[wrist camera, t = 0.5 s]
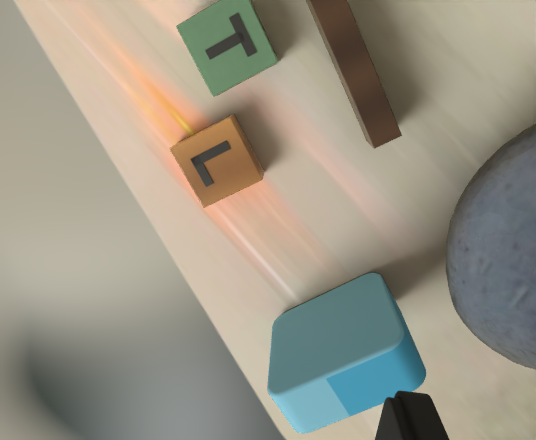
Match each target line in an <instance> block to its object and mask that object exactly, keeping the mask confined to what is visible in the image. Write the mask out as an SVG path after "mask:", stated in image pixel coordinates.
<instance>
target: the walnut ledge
mask: <svg viewBox="0 0 536 440" xmlns="http://www.w3.org/2000/svg"><path fill="white" fill-rule="evenodd" d="M306 2H307V4H308V6H309V8H310V11H311V13H312V15H313V18H314V20H315V22H316V25H317V27H318V29H319V32H320V34H321V36H322V38H323V41H324V43H325V45H326V48H327V50H328V52H329V55H330V57H331V59H332V62H333V64H334V66H335V68H336V71H337V73H338V75H339V78H340V80H341V82H342V85H343V87H344V89H345V91H346V94H347V96H348V98H349V101H350V103H351V105H352V108H353V110H354V112H355V115H356V117H357V119H358V121H359V124H360V126H361V128H362V131H363V133H364V135H365V138H366V140H367V142H368V143H369V144H370V145H371V146H372V147H373V148H376V147H379V146H381V145H383V144H385V143H387V142H389V141H391V140H393V139H396V138H398V137H400V136H402V135H401V132H400V130H399V127H398V125H397V122H396V120H395V117H394V115H393V112H392V110H391V108H390V105H389V103H388V100H387V98H386V95H385V93H384V90H383V88H382V85H381V83H380V81H379V78H378V76H377V73H376V71H375V68H374V66H373V63H372V61H371V58H370V56H369V54H368V51H367V49H366V46H365V44H364V41H363V39H362V36H361V34H360V31H359V29H358V27H357V24H356V22H355V19H354V17H353V14H352V12H351V9H350V7H349V4H348V2H347V0H306Z"/></svg>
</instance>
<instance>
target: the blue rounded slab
mask: <svg viewBox="0 0 536 440" xmlns="http://www.w3.org/2000/svg"><path fill="white" fill-rule="evenodd" d="M425 377H426V369H425V367H424V364H423V362H422V360H421V357H420V355H419V353H418V350H417V348H416V346H415V343H414V341H413V339H412V336H411V334H410V332H409V329H408V327H407V325H406V322H405V320H404V318H403V316H402V313H401V311H400V309H399V307H398V305H397V303H396V301H395V300H394V298H393V296H392V294H391V292H390V291H389V289H388V287H387V285H386V283H385V282H384V280H383V278H382V276H381V275H380V274H378V273H368V274H365V275H362V276H360V277H358V278H356V279H354V280H352V281H350V282H348V283H346V284H343V285H341V286H339V287H337V288H335V289H333V290H331V291H329V292H327V293H325V294H322V295H320V296H318V297H316V298H314V299H312V300H310V301H308V302H306V303H304V304H301V305H299V306H297V307H295V308H293V309H291V310H289V311H287V312H285V313H283V314H282V315H280V316H279V317H278V318H277V319H276V320H275V322H274V324H273V327H272V339H271V351H270V363H269V375H268V393H269V395H270V396H271V397H272V399H273V400H274V402H275V403H276V405H277V406H278V407H279V409H280V410H281V412H282V413H283V414H284V416H285V417H286V419H287V420H288V422H289V423H290V424H291V426H292V427H293V429H294V430H295V431H297V432H299V433H309V432H312V431H315V430H317V429H320V428H322V427H325V426H327V425H330V424H332V423H335V422H337V421H340V420H342V419H345V418H347V417H350V416H352V415H355V414H357V413H360V412H362V411H365V410H367V409H369V408H372V407H374V406H377V405H379V404H382V403H384V402H385V399H386V398H387V397H392V398H394V396H395V394H396V392H397V391H399V390H400V391H408V392H412V391H414V390H416V389H417V388H418V387H419V386H420V385H421V384H422V383H423V382H424V380H425Z"/></svg>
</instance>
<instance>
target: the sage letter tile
mask: <svg viewBox="0 0 536 440" xmlns="http://www.w3.org/2000/svg"><path fill="white" fill-rule="evenodd" d="M176 27H177V29H178V31H179V33H180V35H181V37H182V39H183V41H184V43H185V44H186V46H187V48H188V50H189V52H190V54H191V56H192V58H193V60H194V62H195V63H196V65H197V67H198V69H199V71H200V73H201V75H202V77H203V79H204V81H205V82H206V84H207V86H208V88H209V90H210V92H211V94H212V96H213V97H214V96H217V95H219V94H221V93H223V92H225V91H226V90H228V89H230V88H232V87H234V86H236V85H238V84H239V83H241V82H243V81H245V80H247V79H249V78H251V77H252V76H254V75H256V74H258V73H260V72H262V71H264V70H265V69H267V68H269V67H271V66H273V65H275V64H277V63H278V62H279V60H278V58H277V56H276V54H275V52H274V50H273V47H272V45H271V43H270V41H269V39H268V37H267V35H266V33H265V30H264V28H263V26H262V24H261V22H260V20H259V18H258V15H257V13H256V11H255V9H254V7H253V5H252V3H251V1H250V0H220V1H218V2H216V3H215V4H213V5H211V6H209V7H208V8H206V9H204V10H203V11H201V12H199V13H198V14H196V15H194V16H192V17H191V18H189V19H187V20H186V21H184V22H182V23H181V24H179V25H177V26H176Z"/></svg>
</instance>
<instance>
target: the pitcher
mask: <svg viewBox="0 0 536 440" xmlns="http://www.w3.org/2000/svg"><path fill="white" fill-rule="evenodd" d="M446 273H447V280H448V286H449V290H450V295H451V299H452V302H453V305H454V307H455V310H456V312H457V313H458V315H459V316H460V318H461V319H462V321H463V323H464V324H465V325H466V326H467V327H468V328H469V329H470V330H471V332H472V333H473V334H474V335H475V336H476V337H477V338H478V339H480V340H481V341H482V342H483V343H485V344H486V345H487V346H488V347H490V348H491V349H492V350H494V351H496V352H497V353H499V354H501V355H502V356H504V357H506V358H507V359H509V360H511V361H513V362H515V363H517V364H520V365H523V366H525V367H529V368H532V369H536V124H535V125H533V126H531V127H530V128H528V129H526V130H524V131H523V132H521V133H520V134H519V135H517V136H516V137H515V138H513V139H512V140H510V141H509V142H507V143H506V144H504V145H503V146H502V147H501V148H500V149H499V150H498V151H497V152H496V153H495V154H494V155H493V156H492V157H491V158H489V159H488V160H487V161H486V163H485V164H484V165H483V166H482V167H481V168H480V169H479V170H478V172H477V173H476V174H475V175H474V177H473V178H472V179H471V181H470V182H469V184H468V185H467V187H466V188H465V190H464V192H463V194H462V195H461V197H460V199H459V201H458V203H457V205H456V208H455V211H454V213H453V216H452V218H451V220H450V226H449V231H448V237H447V250H446Z"/></svg>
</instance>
